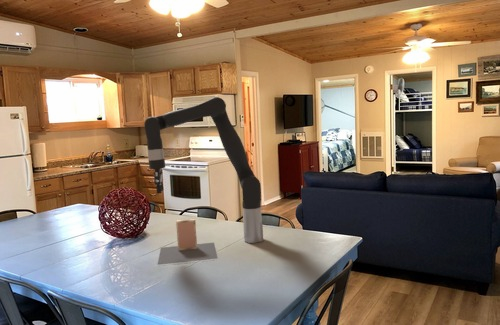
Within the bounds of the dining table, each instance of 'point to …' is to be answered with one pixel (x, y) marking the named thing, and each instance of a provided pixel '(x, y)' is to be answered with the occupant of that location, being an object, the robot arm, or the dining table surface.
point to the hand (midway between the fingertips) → (160, 192)
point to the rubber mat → (187, 254)
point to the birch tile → (186, 234)
